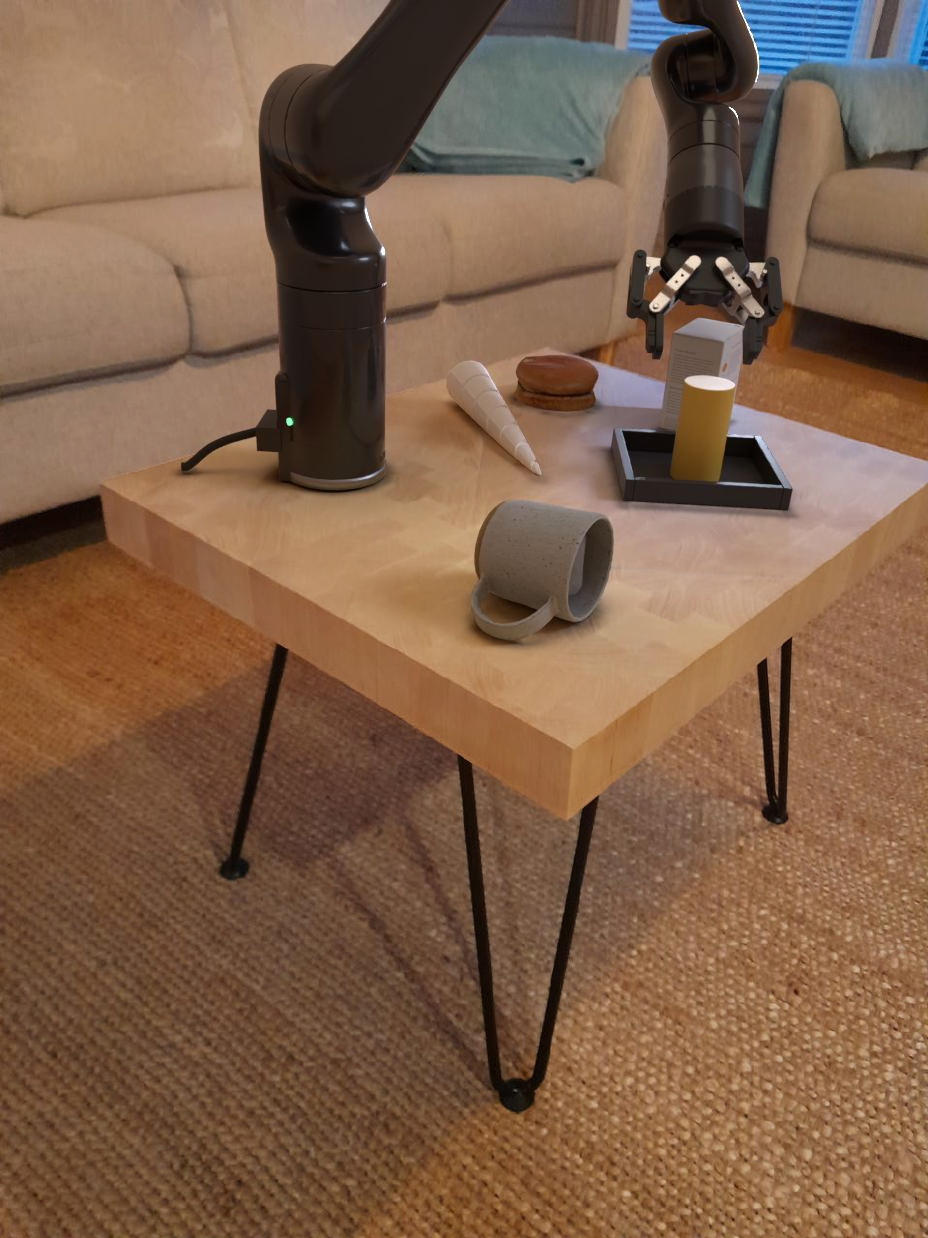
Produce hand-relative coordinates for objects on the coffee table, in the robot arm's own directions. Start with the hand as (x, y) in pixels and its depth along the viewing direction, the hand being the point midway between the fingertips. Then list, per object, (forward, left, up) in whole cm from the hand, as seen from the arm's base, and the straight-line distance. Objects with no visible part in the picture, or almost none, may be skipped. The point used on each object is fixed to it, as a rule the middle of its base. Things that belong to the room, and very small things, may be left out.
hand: (703, 358), depth 97 cm
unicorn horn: (-19, +6, -11) cm, 22 cm away
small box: (+2, +12, -11) cm, 16 cm away
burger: (-13, +18, -11) cm, 24 cm away
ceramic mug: (-16, -31, -11) cm, 37 cm away
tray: (0, -4, -10) cm, 11 cm away
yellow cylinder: (0, -4, -10) cm, 11 cm away
